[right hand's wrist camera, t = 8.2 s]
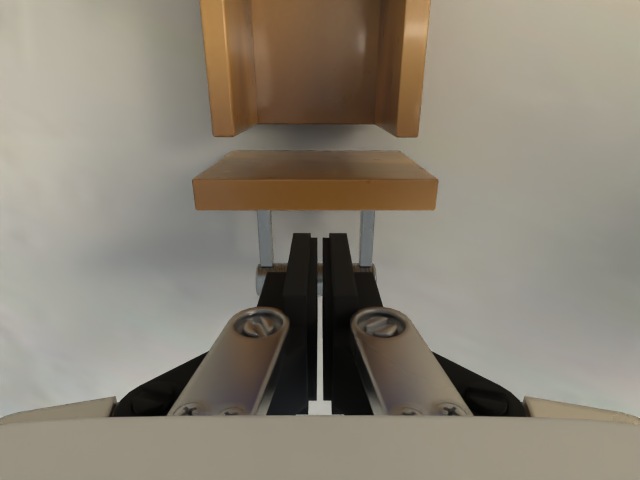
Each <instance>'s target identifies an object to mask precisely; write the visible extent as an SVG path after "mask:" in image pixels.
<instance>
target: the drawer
mask: <svg viewBox="0 0 640 480" xmlns="http://www.w3.org/2000/svg"><path fill="white" fill-rule="evenodd" d="M430 2H431V0H200V10H201V21H202V31H203V41H204V51H205V61H206V71H207V81H208V92H209V102H210V112H211V122H212V132H213V136H214V137H234V136H236V135H238V134H240V133H241V132H243V131H245V130H247V129H249V128H251V127H252V126H254V125H256V124H375V125H377V126H379V127H380V128H382V129H384V130H385V131H387V132H389V133H390V134H392V135H394V136H395V137H418V131H419V120H420V109H421V98H422V88H423V77H424V66H425V55H426V45H427V34H428V23H429V13H430ZM192 184H193V192H194V200H195V208H196V210H257V217H258V233H259V250H260V263H259V264H258V266H257V270H256V291H257V295H258V296H260V294H261V291H262V288H263V284H264V281H265V277H266V274H267V272H286V271H287V266H288V263H274V253H273V232H272V210H361V215H360V238H359V263H352V266H353V271H354V272H373V274H374V277H375V281H376V268H375V265H374V264H373V263H372V253H373V235H374V217H375V210H435V207H436V198H437V190H438V179H437V178H435V177H434V176H433V175H431V174H430V173H429V172H427V171H426V170H425V169H423V168H422V167H421V166H419V165H418V164H417V163H415V162H414V161H413V160H411V159H410V158H409V157H407V156H406V155H405V154H403V153H402V152H401V151H232V152H230V153H229V154H228V155H226V156H225V157H223V158H222V159H220V160H219V161H218V162H216V163H215V164H213V165H212V166H211V167H209V168H208V169H206V170H205V171H204V172H202V173H201V174H199V175H198V176H196V177H195V178H194V179H192ZM317 296H323V263H317Z"/></svg>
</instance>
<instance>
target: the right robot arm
mask: <svg viewBox="0 0 640 480" xmlns="http://www.w3.org/2000/svg"><path fill="white" fill-rule="evenodd" d="M309 401H317V238H311V233H294V234H293V239H292V244H291V250H290V255H289V261H288V266H287V271H286V272H267V274H266V277H265V281H264V284H263V288H262V291H261V294H260V298H259V301H258V305H257V307H254V308H249V309H246V310H243V311H240V312H239V313H237V314H235V315H234V316H233V317H232V318H231V319H230V320H229V321H228V323H227V324H226V326H225V328H224V329H223V331H222V332H221V334H220V335H219V337H218V338H217V340H216V341H215V343H214V344H213V346H212V347H211V349H210V350H209V351H208V352H206V353H204V354H202V355H200V356H198V357H196V358H194V359H192V360H190V361H188V362H186V363H184V364H182V365H180V366H178V367H176V368H174V369H172V370H170V371H168V372H166V373H164V374H162V375H160V376H158V377H156V378H154V379H152V380H150V381H148V382H146V383H144V384H142V385H140V386H139V387H137V388H135V389H134V390H132V391H131V392H129V393H128V394H127V395H126V396H125V397H124V398H123V399H122V400H121V401H120V402H117V400H116V396H114V397H108V398H102V399H96V400H90V401H84V402H78V403H72V404H66V405H60V406H54V407H48V408H42V409H36V410H29V411H23V412H18V413H15V414H11V415H7V416H4V417H2V418H0V480H640V418H638V417H636V416H633V415H629V414H625V413H622V412H617V411H611V410H604V409H598V408H592V407H586V406H580V405H574V404H568V403H562V402H556V401H550V400H544V399H538V398H532V397H526V396H524V400H523V402H520V401H519V400H518V399H517V398H516V397H515V396H514V395H513V394H512V393H511V392H509V391H508V390H506V389H505V388H503V387H501V386H500V385H498V384H496V383H494V382H492V381H490V380H488V379H486V378H484V377H482V376H480V375H478V374H476V373H474V372H472V371H470V370H468V369H466V368H464V367H462V366H460V365H458V364H456V363H454V362H452V361H450V360H448V359H446V358H444V357H442V356H440V355H438V354H436V353H434V352H432V351H431V350H430V349H429V347H428V346H427V344H426V343H425V341H424V340H423V338H422V337H421V335H420V334H419V332H418V331H417V329H416V328H415V326H414V324H413V323H412V321H411V320H410V319H409V318H408V317H407V316H406V315H405V314H403V313H401V312H400V311H397V310H394V309H391V308H386V307H383V305H382V301H381V298H380V294H379V291H378V288H377V284H376V281H375V277H374V274H373V272H354V271H353V266H352V261H351V255H350V250H349V244H348V239H347V234H346V233H329V238H323V401H331V403H332V414H344V415H296V414H308V403H309Z"/></svg>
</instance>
